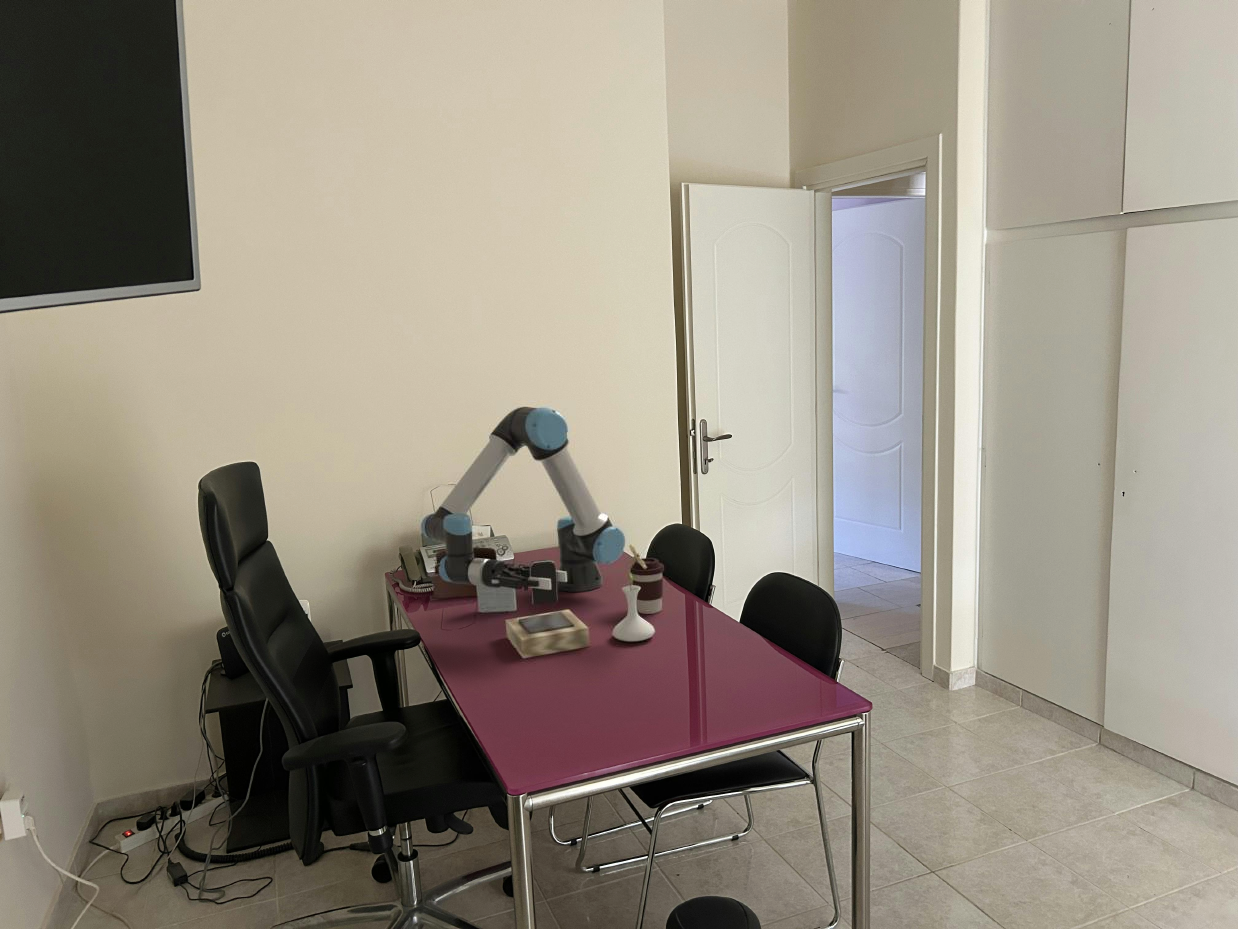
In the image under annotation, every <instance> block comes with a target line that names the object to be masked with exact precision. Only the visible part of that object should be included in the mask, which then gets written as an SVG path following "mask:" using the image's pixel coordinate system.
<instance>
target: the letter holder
mask: <svg viewBox="0 0 1238 929" xmlns="http://www.w3.org/2000/svg"><path fill="white" fill-rule="evenodd" d="M473 554H474V558H483V559H490V560H498V559H497V550H496V549H495V548H492V547H484V546H483V547H479V546H477V547H475V546H473ZM445 556H446V549H445V550H441V551H438V552H436V554H435V559H436V560H435V561H436V562H435V563H436V564H435V565H434V567H433V568H434V575H433V576H432V585H433V586H432V587H433V597H434V599H448V598H451V599H452V598H465V597H466V598H467V596H468V597H477V586H476V585H470V584H460V583H458V584H457V583H453V582H448V581H445V580H443V579H442V578H441V576H440V574H439V567H440V561H441V560H442V558H443V557H445Z"/></svg>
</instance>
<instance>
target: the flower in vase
mask: <svg viewBox="0 0 1238 929" xmlns="http://www.w3.org/2000/svg"><path fill="white" fill-rule="evenodd" d="M628 546H629V549H630V551H631V553H632V554H633V559H632V561H631V563H630V566H629V569H628V571H627V572H628V573H627V574H628V581H627V582H626V583H627V584H628V585H626V586H623V587H621V590H622V593H624V595H625V597H626V600H627V615H626V616H625V617H624V618H623V619H622V620H621V621H620V622H618V624H616V625H615V627H614V628H613V630H612V635H613V637H614V638H615V639H617V640H619V641H624V642H640V641H644V640H648V639H650V638H652V637H653V636H654V634H655V633H656V630H655V628H654V626H653V625H652V624H651V623H649V622H648V621H647V620H646V619H644V618H642V617H641V616H640V614H639V612H638V611H637V607H636V599H637V594H638V592H639V590H640V587H639V586H633V585H632V583H633V581H634V580H635V578H633V575H632V573H630V570H631V567H632V565H633V564H634V563H635V561H636V560H638V562H639V563H640V564H641V566H642V567H643V568H644V569H645V568H647V566H646V565H645V563H644V561H642V560H641V559H642V558H641V555H640V554H639V552H637V550H636V548H635V546H634V545H633V544H632V543H631V544H629V545H628Z"/></svg>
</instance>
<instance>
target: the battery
mask: <svg viewBox="0 0 1238 929" xmlns="http://www.w3.org/2000/svg"><path fill="white" fill-rule="evenodd" d="M529 566H530V568H529V569H530V577H537V578H547V579H551V590H547V589H539V588H530V589H531V596H532V599H531V600H532V605H545V604H551V603H556V602H558V589H557V574H556V571H557V566H556V563H555V562H554V561H553V560H552V559H541V560H540V559H539V560H534V561H531V563H530V564H529Z"/></svg>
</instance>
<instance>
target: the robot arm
mask: <svg viewBox="0 0 1238 929" xmlns="http://www.w3.org/2000/svg"><path fill="white" fill-rule="evenodd" d="M568 427H569V426H568V423H567V421H566V419H565V417H564V416H563V415H562V414H561V413H560V412H558V411H556V410H554V409H551V408H549V407H531V406H521V407H520V406H519V407H517V408H515V409H513V410H511V411H509V413H508V414H507V415H506V416H504V417H503V418H502V420H500V421H499V423H498V424H497V425H496V427H495V428H494V429H493V430H492V432H491V433H490V434H489V435H488V439H489V441H488V443H486V446H484V448H483V449H482V451H481V452H479V454H478V455H477V457H476V458H475V460H474V461H473V463H472V464H471V465H469V467H468V469H467V470H466V472H465V473H464V474H463V476H462V477H461V478H460V479H459V481H458V482H457V483H456V484H455V486H454V487H453V489H452V490H451V491H450V493H448V495H447V496H446V498H445V499H444V500H443V502H442V503H441V504H440V505H439V507H438V508H437V509H436V511H435V512H434V513H430V514H427V515H425V517H424V518H423V519H422V521H421V525H420V530H421V533H422V534H423V536H424V537H426V538H427V539H429V540H430V541H432V542H437V543H439V544H442V545H444V546H445V550H446V556H445V557H443V558H442V560H441V561H440V567H439V574H440V576H441V578H442V579H443V580H445V581H448V582H453V583H457V584H458V583H460V584H470V585H479V586H480V587H483V586H487V587H494V588H499V587H507V588H513V589H515V590H519V591H520V590H524V591H529V588H530V589H531V588H539V589H547V590H551V579H547V578H537V577H530V569H529V568H530V565H526V564H525V565H524V564H521V563H520V564H519V565H518V566H517V567H516V566H514V565H513V566H511V565H510V566H507V564H506V562H504V561H503V560H500V559H497V560H490V559H483V558H474V554H473V547H474V545H473V544H474V543H473V525H472V521H471V516H470V515H469V514H467V513H468V512H469V511H470V509H471V508H472V507H473V506H474V504H475V503H476V502H477V500H478V499H479V498H480V496H481V495H482V494H483V493H484V491H485V489H487V487H488V486H489V484H490V483H491V481H492V480H493V479H494V478H495V476H496V475H497V474H498V473H499V471H500V469H502V467H503V466H504V465H505V463H506V462H507V461H508V459H509V458H510V457H513V456H516V454H517V453H518V452H519V451H520V449H522V448H523V447H527V449H528V451H529V452H530V455H531V456H532V458H533V460H534V461H536V462H541V464H542V466H543V468H544V469H545V471H546V473H547V475H548V477H549V479H550V480H551V482H552V484H553V486H554V488H555V490H556V492H557V494H558V496H559V497H560V500H561V501H562V503H563V505H564V507H565V509H566V511H567V512H568V514H569V515H568V516H564V517H561V518H559V519H558V520H557V523H556V525H557V526H556V533H557V540H558V541H557V542H558V553H559V567H558V570H556V574H557V590H559V591H563V592H569V593H570V592H571V593H574V592H575V593H576V592H586V591H591V590H595V589H598V588H600V587H601V586H603V576H602V574H601V571H600V569H599V566H598V564H605V565H606V564H609V565H610V564H612V563H615V561H617V560H618V559H619V558H620V557H621V556H622V554H623V553H624V548H625V547H626V537H625V534H624V532H623V530H621V528H620V527H617V526H614V525H613V523H612V521H611V520H610V518H609V516H608V514H607V513H606V512H604V511H600V510H599V507H598V505H597V504H596V502H595V500H594V498H593V496H592V494H591V492H590V490H589V488H588V486H587V484H586V483H585V480H584V478H583V477H582V475H581V472H580V471H579V469H578V467H577V464H576V462H575V461H574V459H573V458H572V456H571V454H570V452H569V450H568V446H569V444H570V441H569V439H568V432H569V428H568Z"/></svg>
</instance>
